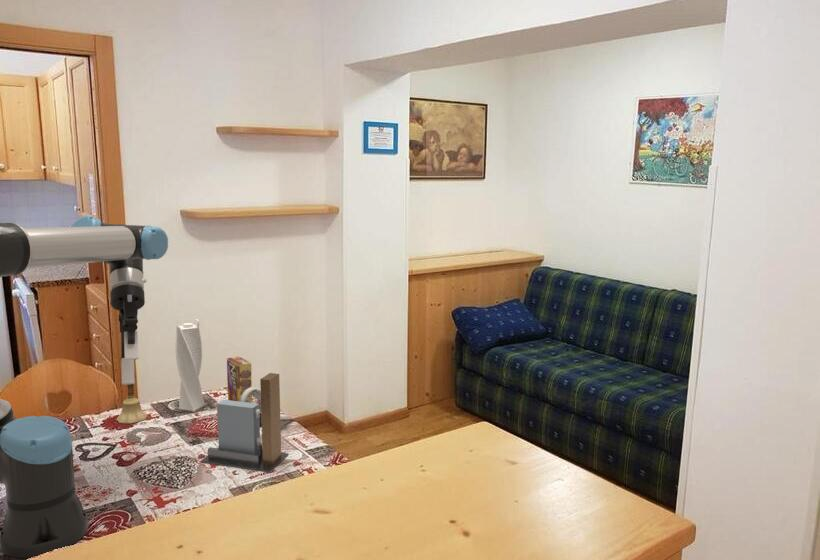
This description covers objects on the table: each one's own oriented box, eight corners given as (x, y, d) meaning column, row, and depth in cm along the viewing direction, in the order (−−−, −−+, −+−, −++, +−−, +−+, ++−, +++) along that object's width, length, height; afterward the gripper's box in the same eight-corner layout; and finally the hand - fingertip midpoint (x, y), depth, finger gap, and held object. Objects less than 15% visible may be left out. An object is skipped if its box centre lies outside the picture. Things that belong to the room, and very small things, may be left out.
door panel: (258, 461, 160) (256, 408, 157) (219, 456, 162) (216, 403, 160) (263, 456, 163) (262, 404, 160) (225, 451, 165) (223, 399, 163)
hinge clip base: (270, 472, 155) (267, 383, 151) (200, 462, 160) (196, 376, 156) (288, 454, 165) (286, 371, 161) (222, 445, 170) (219, 364, 166)
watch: (271, 422, 185) (270, 386, 183) (249, 431, 179) (247, 394, 177) (258, 418, 188) (257, 382, 186) (236, 426, 182) (234, 389, 180)
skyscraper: (212, 405, 198) (208, 316, 193) (196, 414, 190) (191, 322, 185) (188, 401, 200) (184, 314, 195) (172, 411, 193) (167, 320, 188)
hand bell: (130, 411, 192) (127, 360, 189) (153, 415, 190) (150, 363, 187) (110, 421, 184) (106, 368, 182) (133, 425, 182) (130, 371, 179)
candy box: (253, 411, 194) (251, 362, 191) (240, 414, 191) (238, 365, 188) (240, 402, 200) (239, 355, 198) (227, 405, 198) (225, 358, 195)
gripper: (148, 263, 147) (152, 346, 137) (140, 315, 166) (143, 392, 156) (111, 262, 144) (113, 348, 134) (108, 316, 163) (109, 394, 153)
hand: (129, 371), depth 145 cm, fingers open, 13 cm apart
